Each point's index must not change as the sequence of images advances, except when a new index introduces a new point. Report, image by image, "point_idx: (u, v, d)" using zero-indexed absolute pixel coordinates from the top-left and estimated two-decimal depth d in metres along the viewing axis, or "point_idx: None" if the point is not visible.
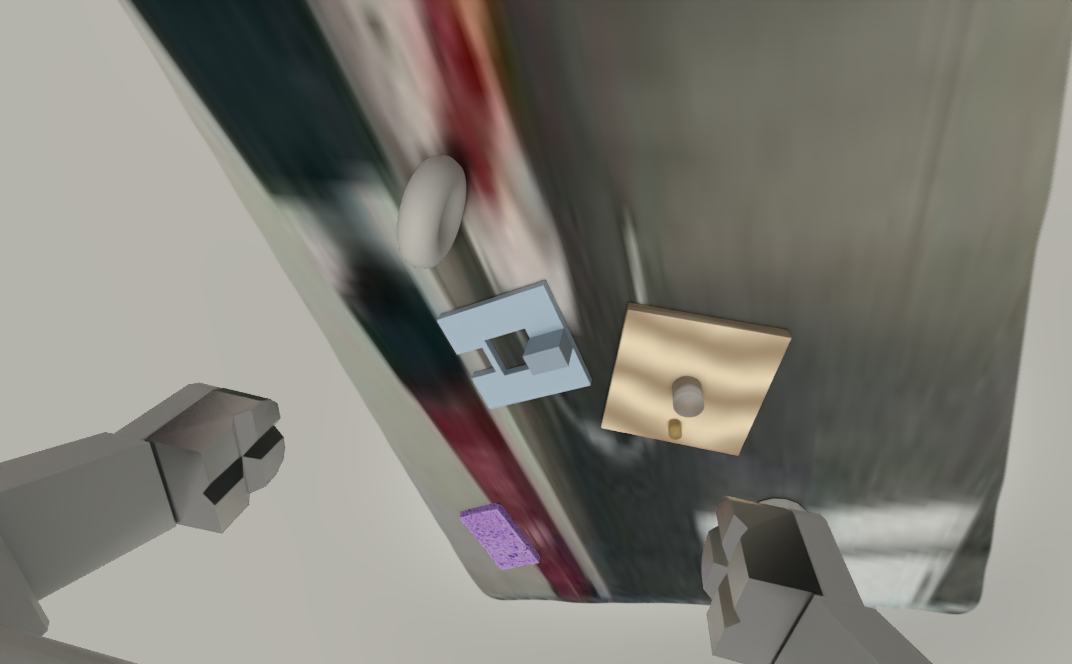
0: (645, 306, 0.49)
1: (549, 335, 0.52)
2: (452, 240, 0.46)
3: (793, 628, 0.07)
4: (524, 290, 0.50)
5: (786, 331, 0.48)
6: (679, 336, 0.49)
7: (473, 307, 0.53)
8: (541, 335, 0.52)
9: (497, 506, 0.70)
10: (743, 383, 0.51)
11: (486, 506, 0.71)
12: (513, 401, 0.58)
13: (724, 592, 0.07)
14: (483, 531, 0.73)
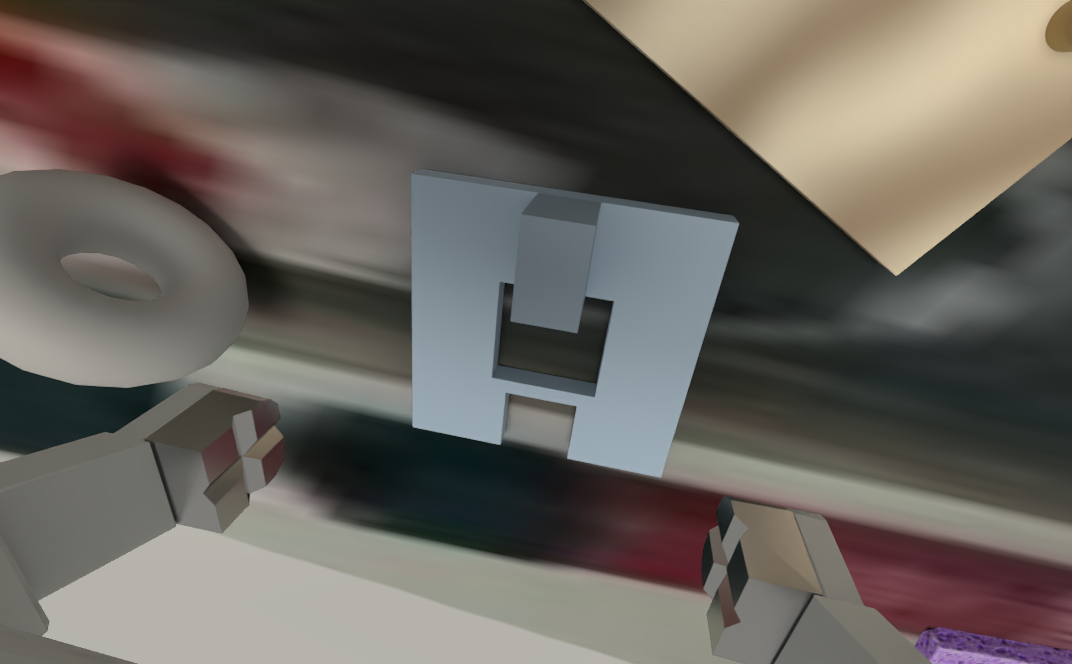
0: None
1: None
2: (214, 284, 0.21)
3: (793, 628, 0.07)
4: (413, 225, 0.21)
5: None
6: None
7: None
8: None
9: (933, 639, 0.27)
10: None
11: None
12: (671, 423, 0.23)
13: (724, 592, 0.07)
14: None
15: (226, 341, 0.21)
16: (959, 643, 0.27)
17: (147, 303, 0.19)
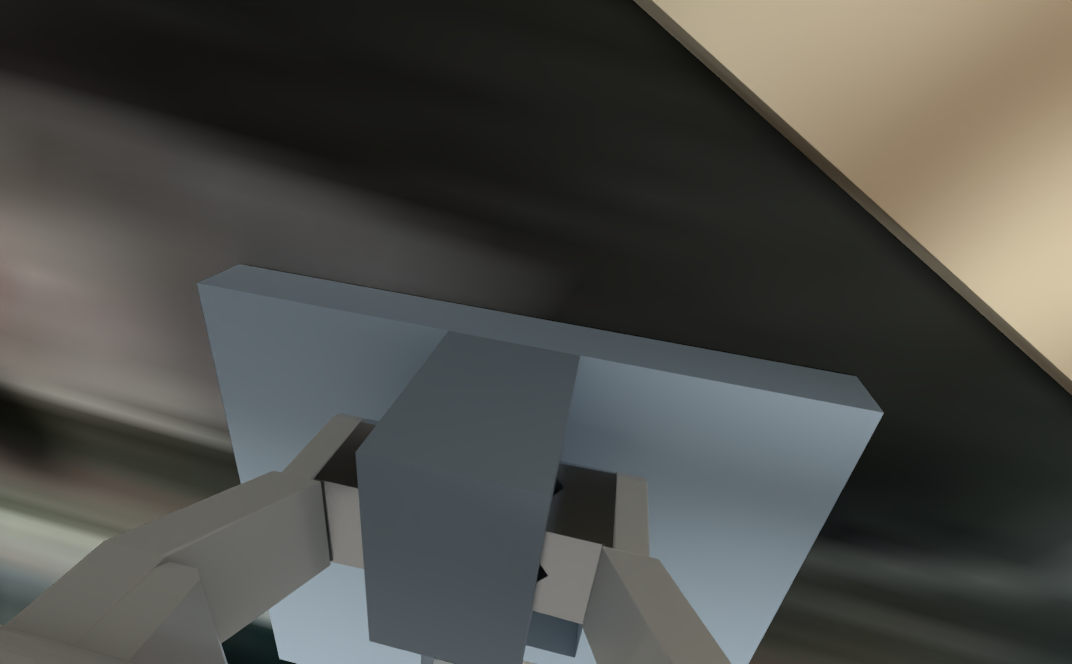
0: None
1: None
2: None
3: (594, 581, 0.07)
4: (226, 370, 0.11)
5: None
6: None
7: None
8: None
9: None
10: None
11: None
12: None
13: None
14: None
15: None
16: None
17: None
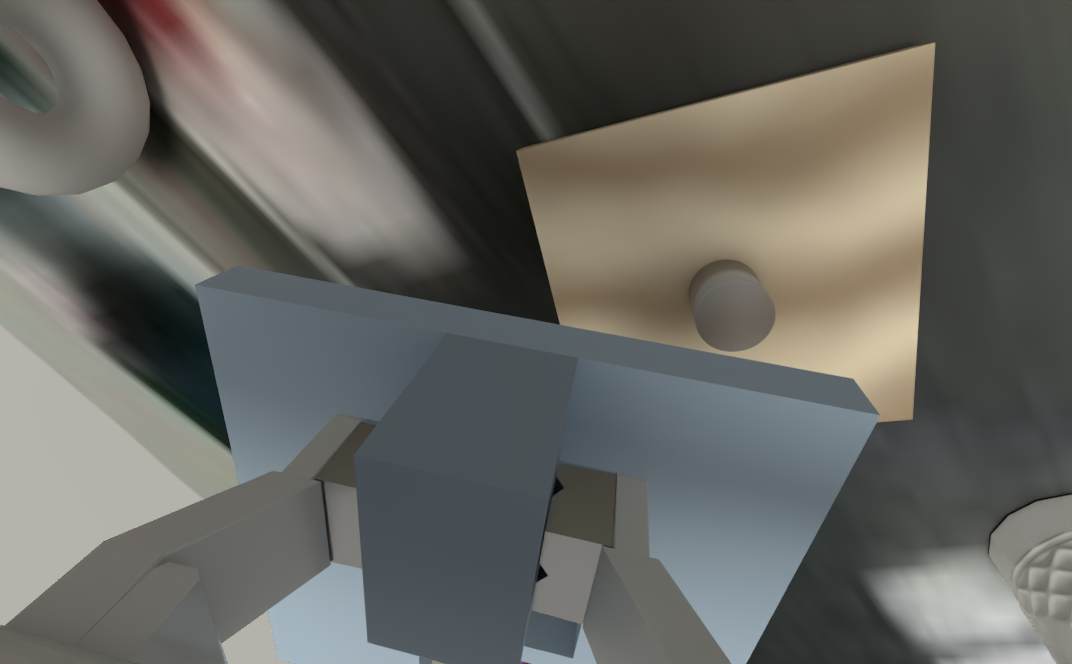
0: (558, 138, 0.22)
1: None
2: (116, 133, 0.22)
3: (594, 581, 0.07)
4: (224, 371, 0.11)
5: (912, 46, 0.18)
6: (652, 168, 0.21)
7: None
8: None
9: None
10: (853, 229, 0.20)
11: None
12: None
13: None
14: None
15: (97, 186, 0.22)
16: None
17: (41, 123, 0.20)
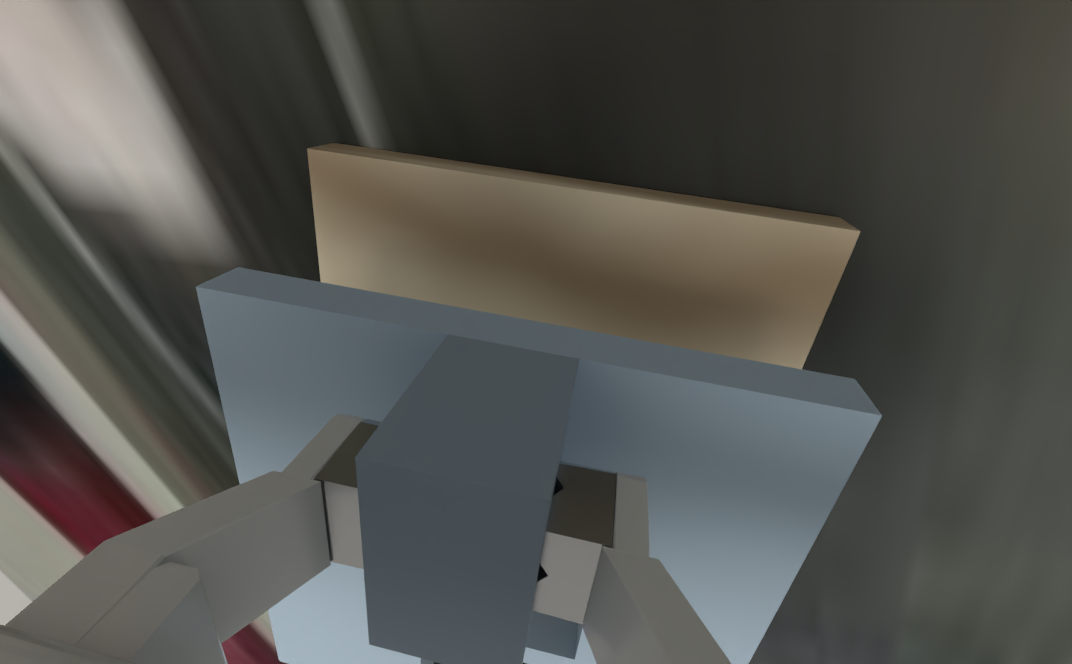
0: (381, 151, 0.15)
1: None
2: None
3: (594, 581, 0.07)
4: (226, 373, 0.11)
5: (837, 219, 0.14)
6: (484, 243, 0.15)
7: None
8: None
9: None
10: None
11: None
12: None
13: None
14: None
15: None
16: None
17: None
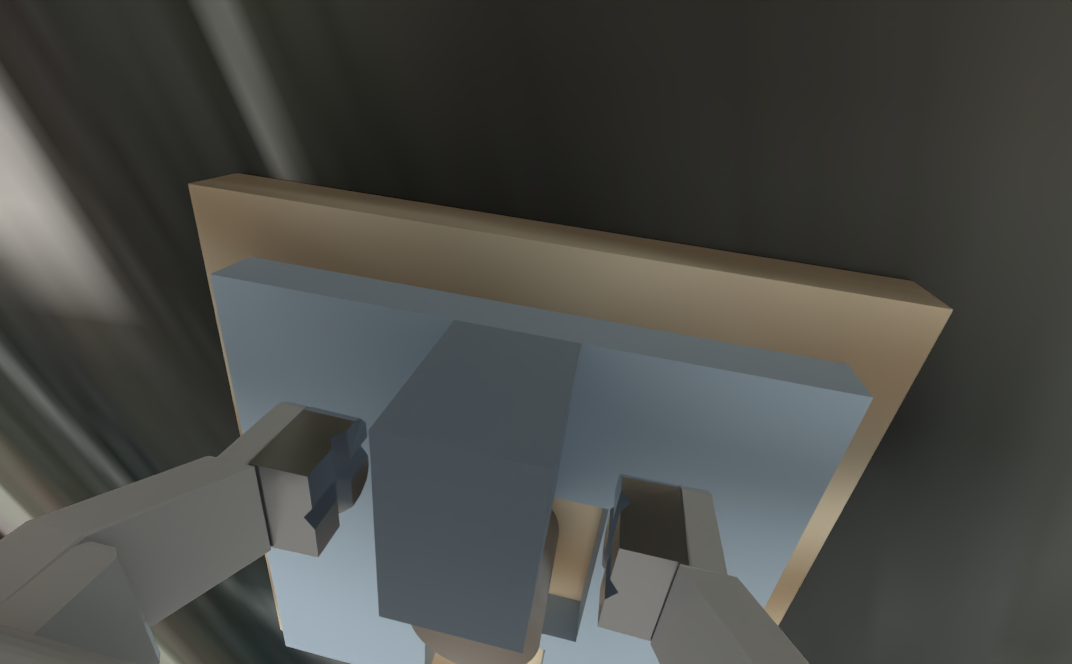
0: (296, 185, 0.12)
1: None
2: None
3: (667, 598, 0.07)
4: (237, 360, 0.11)
5: (911, 285, 0.10)
6: None
7: None
8: None
9: None
10: None
11: None
12: None
13: (611, 566, 0.08)
14: None
15: None
16: None
17: None
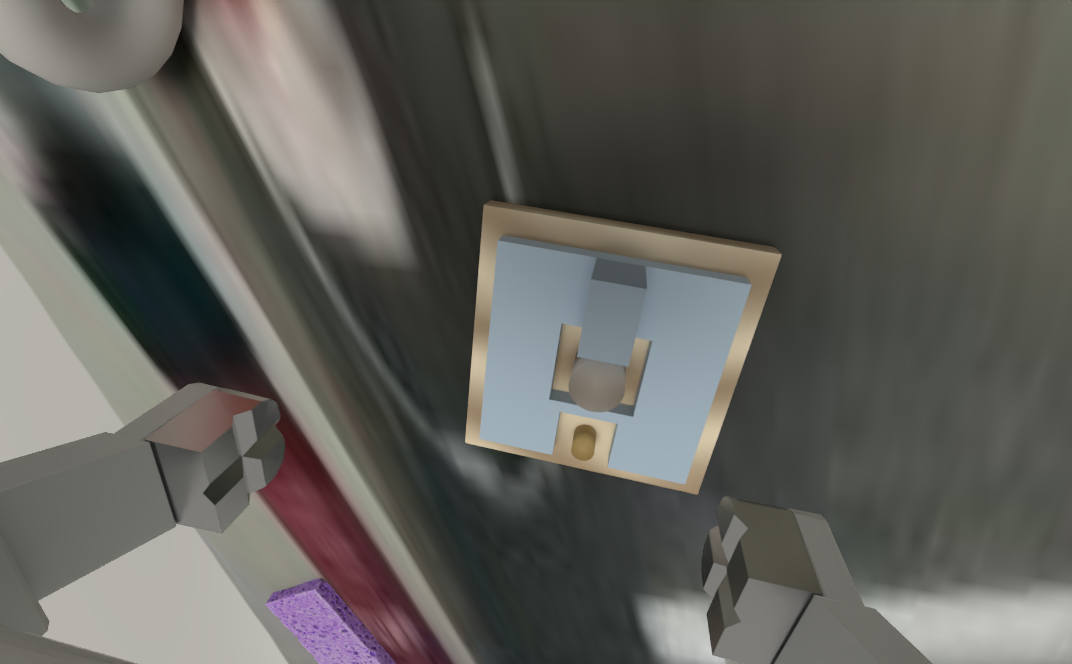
0: (519, 205, 0.27)
1: None
2: (144, 53, 0.25)
3: (793, 628, 0.07)
4: (495, 278, 0.27)
5: (772, 248, 0.26)
6: None
7: None
8: None
9: (317, 585, 0.44)
10: None
11: (304, 585, 0.45)
12: (695, 439, 0.29)
13: (724, 592, 0.07)
14: (304, 626, 0.47)
15: (110, 90, 0.25)
16: (326, 594, 0.45)
17: (83, 30, 0.22)
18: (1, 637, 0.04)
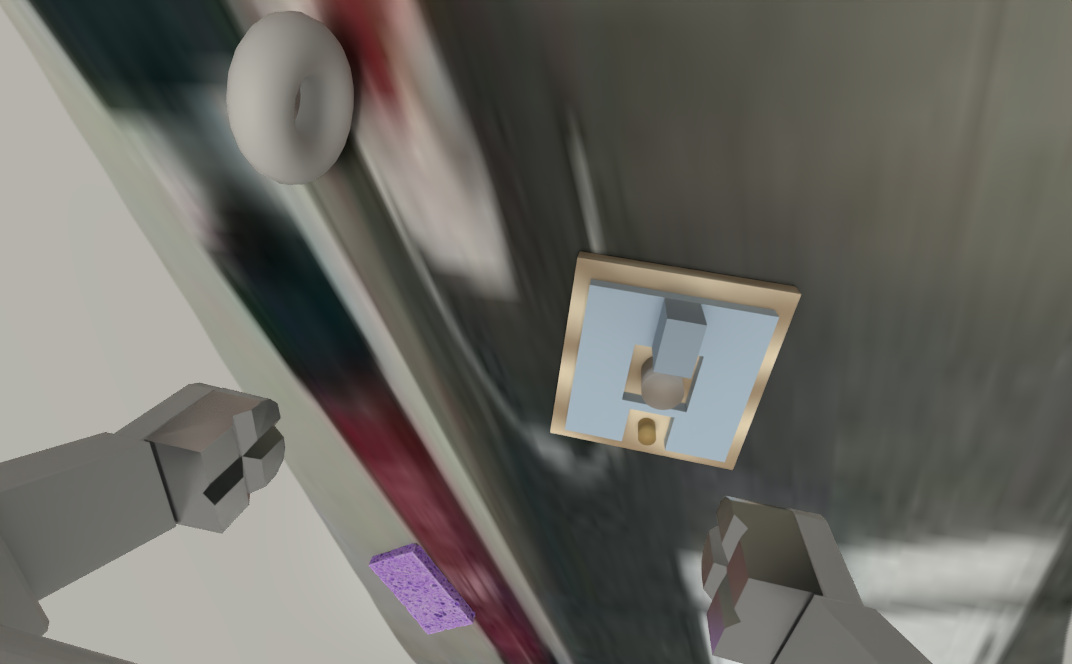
0: (602, 255, 0.37)
1: (659, 321, 0.35)
2: (332, 153, 0.33)
3: (793, 628, 0.07)
4: (585, 311, 0.36)
5: (793, 287, 0.35)
6: None
7: (573, 381, 0.39)
8: (656, 331, 0.35)
9: (413, 548, 0.54)
10: None
11: (401, 548, 0.56)
12: (733, 428, 0.38)
13: (724, 592, 0.07)
14: (400, 582, 0.57)
15: None
16: (420, 555, 0.55)
17: (305, 147, 0.31)
18: (1, 637, 0.04)
